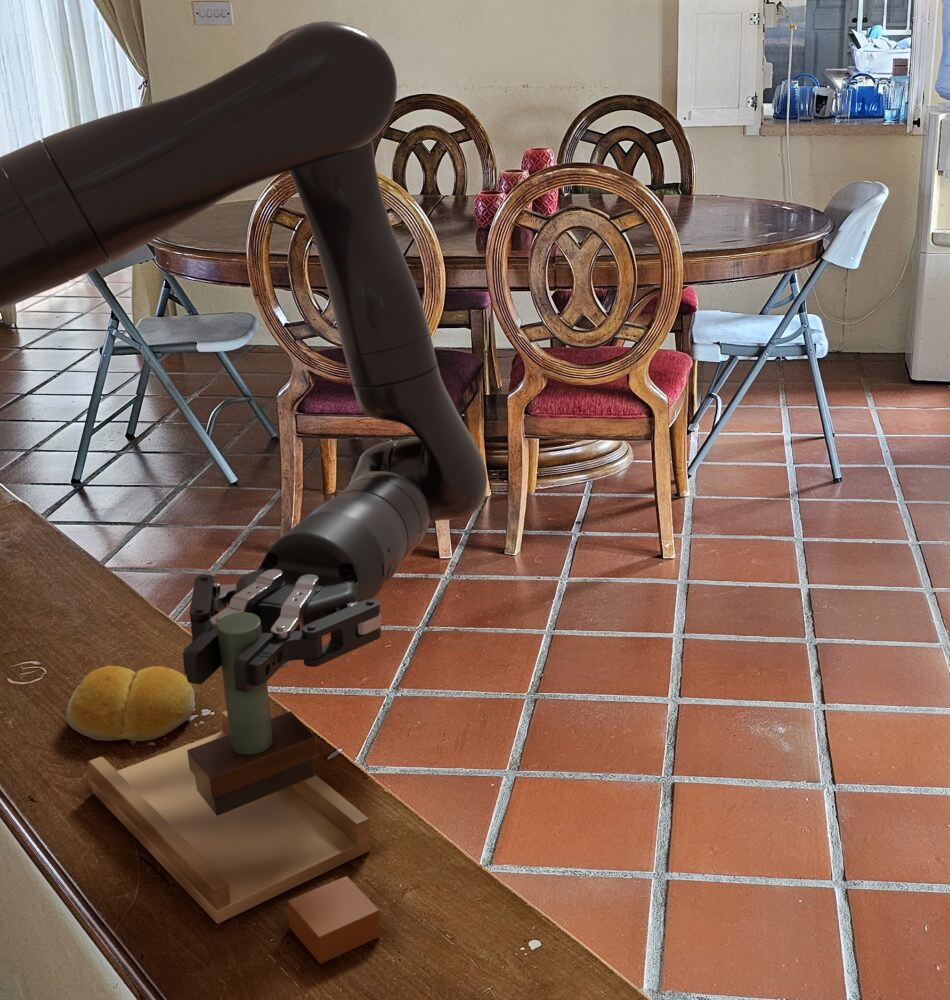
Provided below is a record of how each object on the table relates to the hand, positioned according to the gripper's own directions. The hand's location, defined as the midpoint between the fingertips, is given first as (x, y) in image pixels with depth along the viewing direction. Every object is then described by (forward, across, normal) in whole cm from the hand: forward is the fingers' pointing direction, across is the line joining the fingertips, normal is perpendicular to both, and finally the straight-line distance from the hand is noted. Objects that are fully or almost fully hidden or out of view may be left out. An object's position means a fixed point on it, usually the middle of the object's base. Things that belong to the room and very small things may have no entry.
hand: (216, 673), depth 77 cm
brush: (-4, 0, +10) cm, 11 cm away
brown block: (+3, +8, +15) cm, 17 cm away
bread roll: (-15, -17, +15) cm, 27 cm away
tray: (-5, -3, +15) cm, 16 cm away
